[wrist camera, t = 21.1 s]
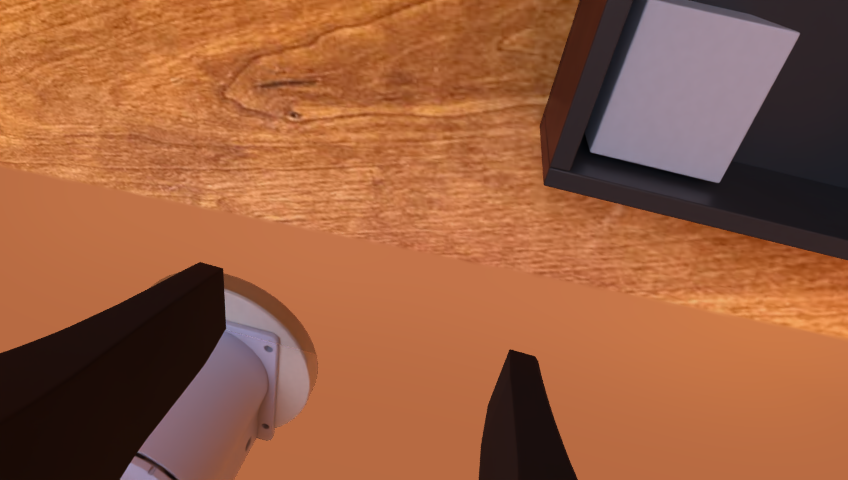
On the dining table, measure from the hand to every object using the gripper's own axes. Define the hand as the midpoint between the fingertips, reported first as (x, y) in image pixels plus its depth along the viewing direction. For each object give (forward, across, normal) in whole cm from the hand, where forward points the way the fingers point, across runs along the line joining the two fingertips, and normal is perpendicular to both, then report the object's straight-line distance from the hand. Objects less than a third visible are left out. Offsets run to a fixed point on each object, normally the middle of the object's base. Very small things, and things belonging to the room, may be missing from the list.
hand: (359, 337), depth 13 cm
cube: (+10, -7, -6) cm, 14 cm away
